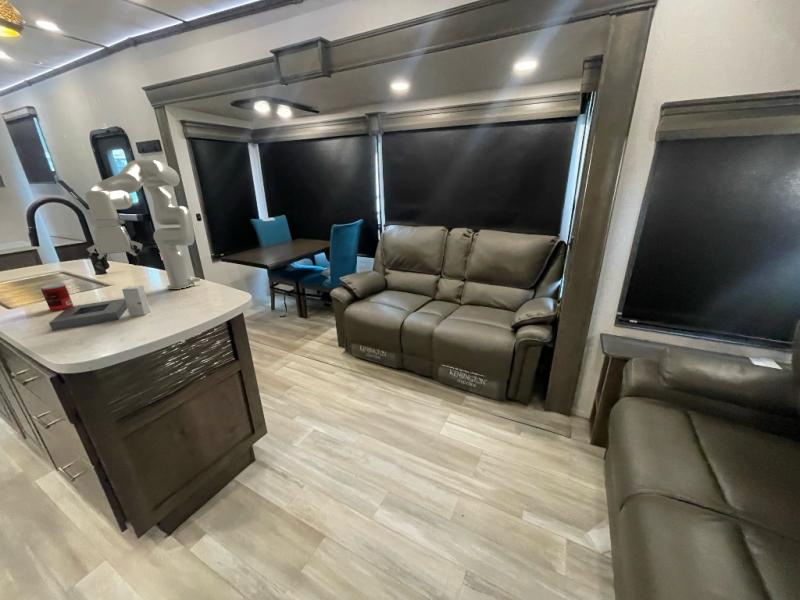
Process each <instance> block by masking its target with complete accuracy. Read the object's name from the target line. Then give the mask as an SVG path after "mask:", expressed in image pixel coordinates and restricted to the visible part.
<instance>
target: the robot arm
mask: <svg viewBox="0 0 800 600" xmlns="http://www.w3.org/2000/svg"><path fill="white" fill-rule="evenodd" d="M180 182H181V181H180V176H179V174H178V172H177V171H176V170H175V169H174V168H172V167H171V166H169V165H167V164H165V163H163V162H162V161H159V160H155V159H137V160H136V159H135V160H134V159H133V160H131V161H130V162H128V163H127V164H126V165H125V166H124V167H123V168H122V169H121V171H119V173H117V174H116V175H113V176H110V177H108V178H106V179H103V180H101V181H98V182H96V183H95V184H93V185H92V186H91V187H90V188H89V189H88V190H87V191H86V192H85V193H84V198H85V200H86V203H87V205H88V208H89V211H90V215H91V217H92V221H93V222H94V226H95V227H94V228H93V230H94V238H95V242H96V243H95V244H93V245H91V246H90V247H87V248H86V251H88V252H89V253H90V254H91V256H94V257H95V258H96V259H98V260H99V261H100V263H101V266H102V267H103V269H104V270H106V269H109V268H110V265H109V262H108V259H107V258H106V255H109V254H121V253H128V254H131V258H132V261H133V265H134V266H135V267H137V266H139V263H140V259H139V256H138V255H139V253H140V252H141V251H142V248H143V243H140V242H137V241H135V240H131V236H130V235H129V232H128V231H127V229H126V227H125V226H122V225H123V224H126V221H125V219H120V218H119V214H118V212H117V210H126V209H129V208H131V207H132V206H133V204H134V200H133V197H132V195H131V194H132V193H135V192H138V191H139V190H140V189H142V187H144V188H145V189H146V191H148V193H149V195H150V196H151V199H152V205H153V212H154V213H153V214H154V218H155V221H156V223H157V224H158V225H160V226H179V227H162V228H158V229H156V230H154V232H153V240H154V242H155V244H156V245H157V247H158V249H159V252H160V256H161V258H162V262H163V265H164V269H165V271H166V275H167V278H168V281H169V282H168V283H169V285H167V287H166V288H167V290H169V289H180V290H182V289H181V288H185V289H187V288H186V287H189V286H192V285H194V284H195V283H196V282H201V278H200V277H194V278H193V277H191V276H190V274H189V269H188V266H187V263H186V259H185V256H184V253H183V251H182V250H181V248H179V247H187V246H188V247H189V246H191V245H194V242H195V231H194V221H193V217H192V213H191V211H190V210H189V208H188V207H187V206H183V205H175V204H174V199H173V198H174V197H173V196H172V194H171V193H170V192H169V191H168V190H167V189H166V188H173V187H177V186H178V185H179V184H180ZM165 187H166V188H165ZM134 246H136V247H137V248H136V249H134ZM95 249H98V252H96V251H95ZM194 286H195V285H194ZM192 287H193V286H192ZM189 288H190V287H189Z"/></svg>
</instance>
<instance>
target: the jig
mask: <svg viewBox="0 0 800 600" xmlns="http://www.w3.org/2000/svg"><path fill="white" fill-rule="evenodd" d="M127 309H128V307H127V304H126V301H125V298H120V299H113V300H105V301H100V302H99V301H98V302H93V303H92V302H91V303H86V304H85V303H84V304H79V305H78V304H77V305H73V306H71V307H68V308H67V309H65V310H62V311H61V312H60V313H59V314H57V316H55V317H54V318H53V319H52V320H50V321H48V324H49V326H50V329H51V331H52V332H56V331H60V330H61V331H62V330H66V329H73V328H78V327H84V326H91V325H96V324H101V323H102V324H103V323H108V322H114V321H119V320H120V319H121V318H122V316H123V314H124V313H125V312H126V311H127Z"/></svg>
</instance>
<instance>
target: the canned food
mask: <svg viewBox="0 0 800 600" xmlns="http://www.w3.org/2000/svg"><path fill="white" fill-rule="evenodd" d="M40 291H41V293H42V295H43V297H44V299H45V301H46V304H47V306H48V308H49V310H50V311H51V312H60V311H61V312H62V311H64V310H65V309H67V308H68V307H71V306H74V303H73V301H72V298H71V296H70V293H69V291H68V288H67V286H66V284H65V283H64V282H63V283H62V282H58V283H52V284H51V283H50V284H46V285H43V286H41V287H40Z"/></svg>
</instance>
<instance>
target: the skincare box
mask: <svg viewBox="0 0 800 600" xmlns="http://www.w3.org/2000/svg"><path fill="white" fill-rule="evenodd" d="M121 290H122V291H121V292H122V294H123V297H124V298H125V301H126V304H127V307H128V308H127V309H128V310H127V311H128V313H129V317H135V316H136V317H137V316H138V317H139V316H146V315H148V314H149V313H150V312H151V309H150V306H149V303H148V299H147V295H146V291H145V288H144V285H129V286H126V287H124V288H122V289H121ZM124 298H123V299H124Z"/></svg>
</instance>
